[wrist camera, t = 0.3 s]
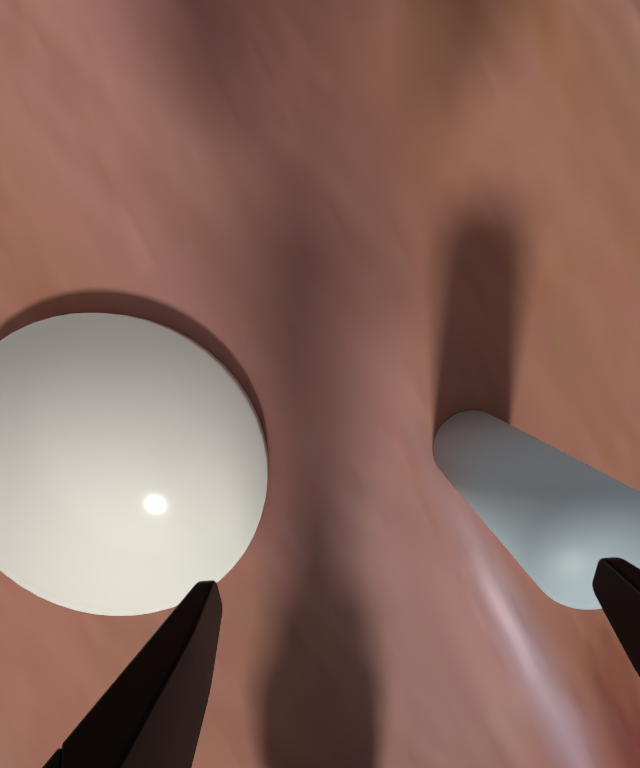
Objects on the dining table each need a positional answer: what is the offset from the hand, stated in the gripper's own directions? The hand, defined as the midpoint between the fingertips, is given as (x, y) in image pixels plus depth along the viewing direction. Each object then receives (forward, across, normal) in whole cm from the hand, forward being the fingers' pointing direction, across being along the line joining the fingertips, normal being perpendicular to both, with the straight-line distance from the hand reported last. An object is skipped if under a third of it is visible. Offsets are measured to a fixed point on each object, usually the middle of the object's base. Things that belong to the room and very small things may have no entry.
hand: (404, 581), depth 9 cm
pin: (+14, -8, +6) cm, 17 cm away
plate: (+14, +16, +6) cm, 22 cm away
